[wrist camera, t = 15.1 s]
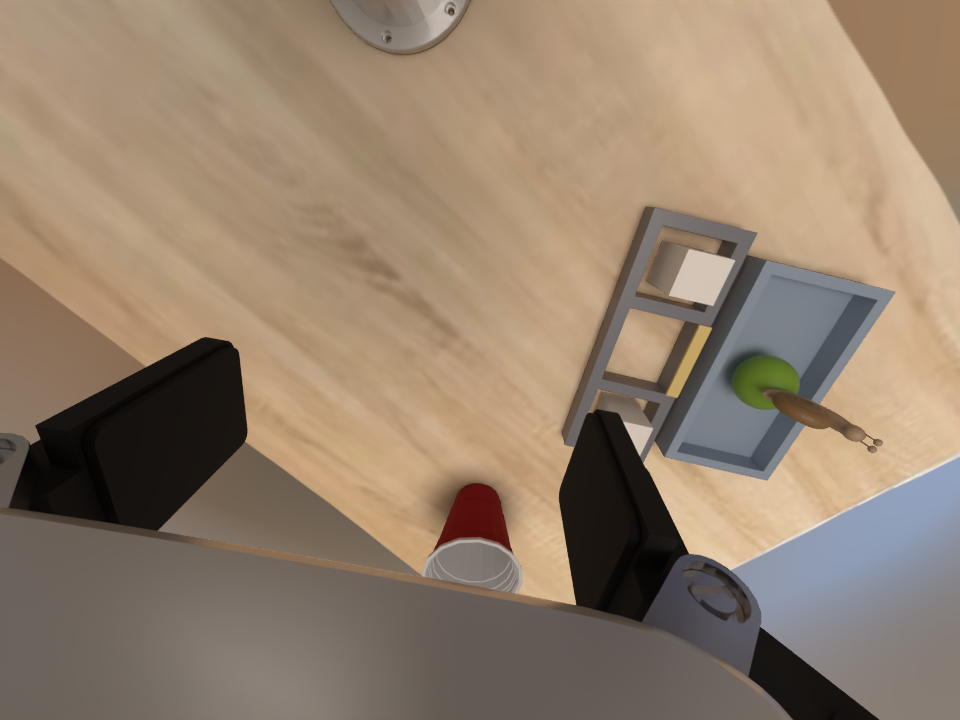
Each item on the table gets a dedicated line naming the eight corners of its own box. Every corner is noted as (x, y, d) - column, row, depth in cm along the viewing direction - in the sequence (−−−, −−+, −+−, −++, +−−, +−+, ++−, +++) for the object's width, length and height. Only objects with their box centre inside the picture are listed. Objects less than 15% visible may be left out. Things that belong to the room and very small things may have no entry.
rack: (645, 206, 36) (656, 207, 33) (742, 230, 36) (759, 233, 34) (561, 432, 46) (564, 446, 44) (636, 449, 47) (644, 464, 44)
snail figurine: (766, 401, 42) (858, 475, 31) (711, 385, 42) (784, 455, 31) (796, 357, 40) (906, 420, 29) (738, 340, 39) (827, 398, 28)
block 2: (662, 240, 37) (688, 248, 32) (702, 250, 37) (735, 260, 32) (646, 280, 39) (668, 295, 33) (684, 289, 39) (713, 306, 33)
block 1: (601, 391, 44) (615, 419, 38) (635, 398, 44) (653, 428, 39) (590, 420, 46) (601, 451, 40) (622, 427, 46) (638, 459, 40)
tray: (744, 254, 37) (766, 260, 34) (862, 283, 37) (895, 291, 34) (653, 438, 46) (664, 456, 43) (749, 460, 46) (767, 480, 43)
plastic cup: (536, 508, 51) (543, 593, 40) (472, 539, 55) (463, 627, 44) (488, 453, 48) (482, 529, 37) (423, 489, 52) (400, 570, 41)
